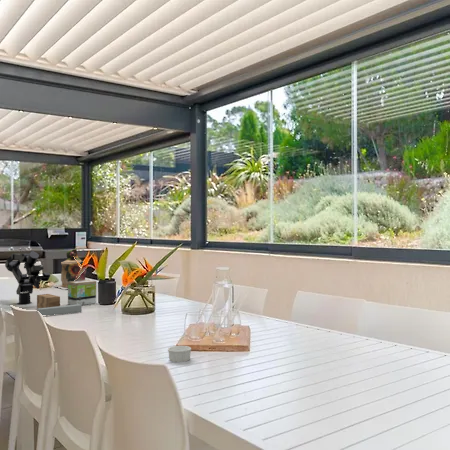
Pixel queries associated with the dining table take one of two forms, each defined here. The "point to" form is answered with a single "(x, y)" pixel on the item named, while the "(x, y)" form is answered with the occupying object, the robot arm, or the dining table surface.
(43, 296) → the walnut block
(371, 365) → the dining table surface
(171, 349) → the ramekin
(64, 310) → the gray bar
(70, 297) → the tea box
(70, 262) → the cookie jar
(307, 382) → the dining table surface
